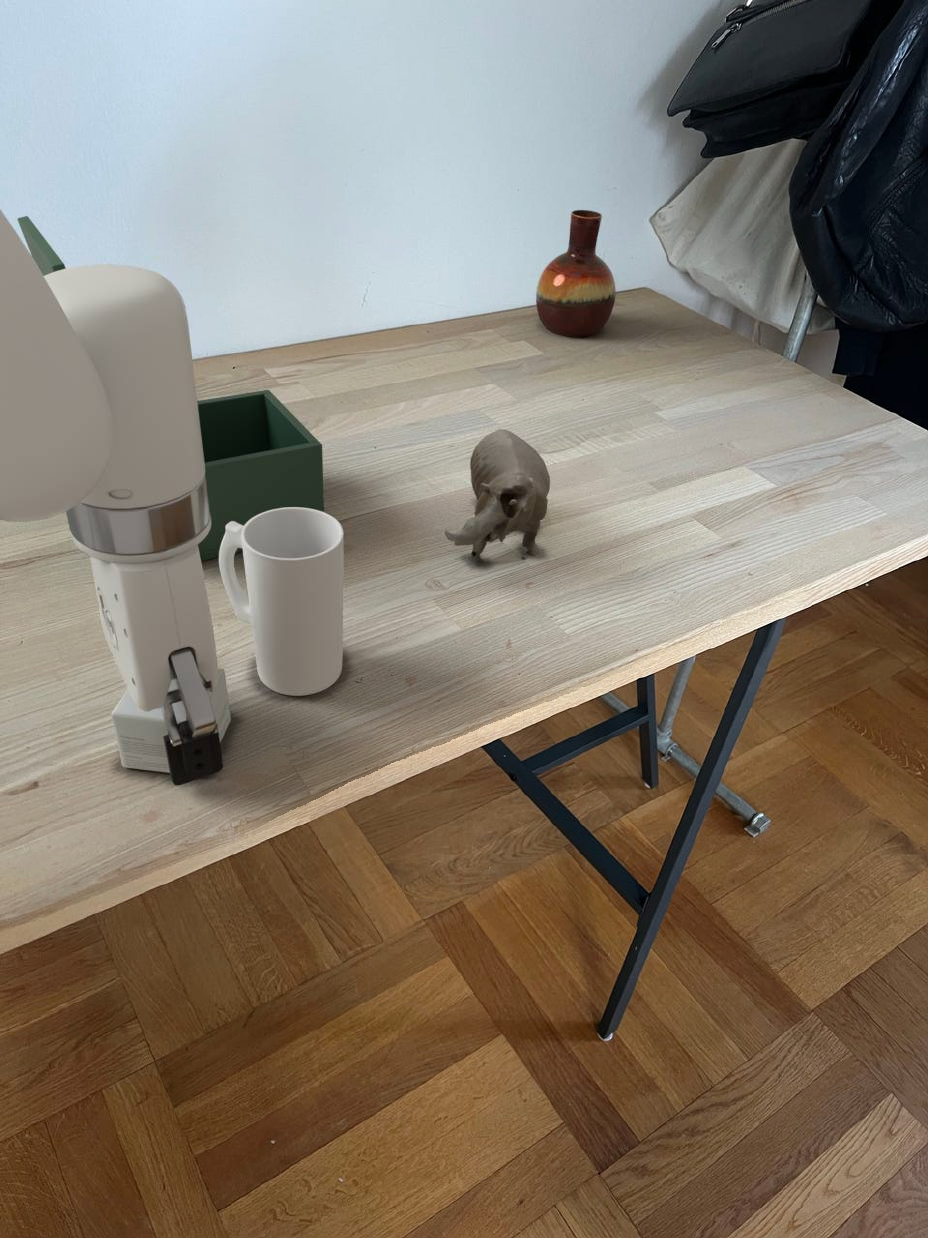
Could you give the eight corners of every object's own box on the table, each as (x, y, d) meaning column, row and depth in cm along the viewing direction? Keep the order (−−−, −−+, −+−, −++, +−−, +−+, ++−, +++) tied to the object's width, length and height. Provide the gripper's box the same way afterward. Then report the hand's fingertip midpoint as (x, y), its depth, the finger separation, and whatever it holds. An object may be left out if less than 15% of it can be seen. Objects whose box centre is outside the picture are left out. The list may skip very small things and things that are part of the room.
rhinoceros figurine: (560, 472, 92) (555, 389, 77) (546, 603, 87) (538, 540, 73) (482, 468, 93) (464, 385, 79) (465, 596, 89) (442, 533, 75)
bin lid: (27, 215, 70) (16, 217, 70) (63, 263, 62) (51, 266, 61) (102, 409, 81) (93, 412, 81) (142, 472, 73) (132, 476, 72)
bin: (274, 471, 93) (268, 389, 88) (325, 532, 85) (322, 444, 80) (115, 503, 86) (99, 416, 81) (153, 572, 78) (138, 479, 73)
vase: (560, 345, 127) (575, 226, 118) (518, 318, 134) (529, 205, 125) (625, 336, 131) (644, 221, 122) (580, 311, 139) (596, 201, 130)
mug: (363, 660, 70) (363, 525, 63) (311, 711, 66) (304, 571, 58) (257, 617, 74) (246, 484, 67) (200, 662, 69) (181, 524, 62)
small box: (233, 720, 64) (226, 666, 62) (206, 780, 60) (197, 725, 57) (153, 710, 65) (143, 656, 62) (120, 770, 60) (107, 714, 57)
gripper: (35, 450, 55) (88, 674, 66) (108, 606, 44) (158, 848, 54) (161, 428, 59) (192, 645, 69) (260, 568, 47) (279, 803, 58)
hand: (177, 733), depth 62 cm, fingers closed on small box, 7 cm apart
